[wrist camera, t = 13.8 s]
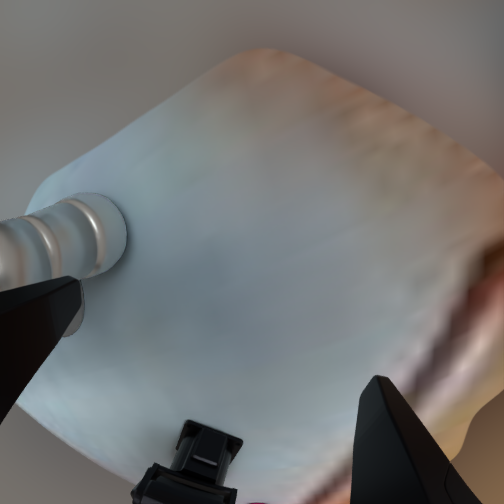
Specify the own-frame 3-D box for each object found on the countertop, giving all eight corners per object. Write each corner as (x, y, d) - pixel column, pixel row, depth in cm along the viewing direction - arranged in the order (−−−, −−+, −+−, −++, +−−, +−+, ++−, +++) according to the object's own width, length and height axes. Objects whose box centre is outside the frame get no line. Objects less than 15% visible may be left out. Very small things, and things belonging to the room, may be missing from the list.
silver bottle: (122, 278, 25) (-60, 424, 6) (68, 239, 25) (-115, 333, 6) (148, 212, 23) (-100, 333, 4) (87, 175, 23) (-137, 232, 4)
